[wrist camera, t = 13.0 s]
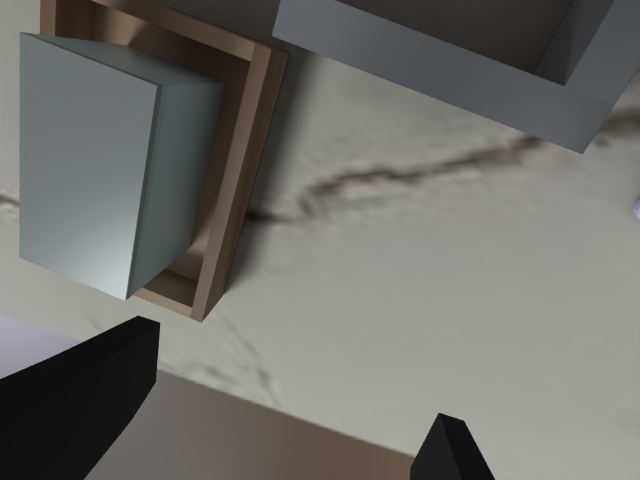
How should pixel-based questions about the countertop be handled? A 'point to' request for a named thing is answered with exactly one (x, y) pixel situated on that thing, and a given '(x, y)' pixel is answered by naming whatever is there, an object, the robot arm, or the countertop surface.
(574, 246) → the countertop surface
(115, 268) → the pale grey block
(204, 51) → the walnut tray
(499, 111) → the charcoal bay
